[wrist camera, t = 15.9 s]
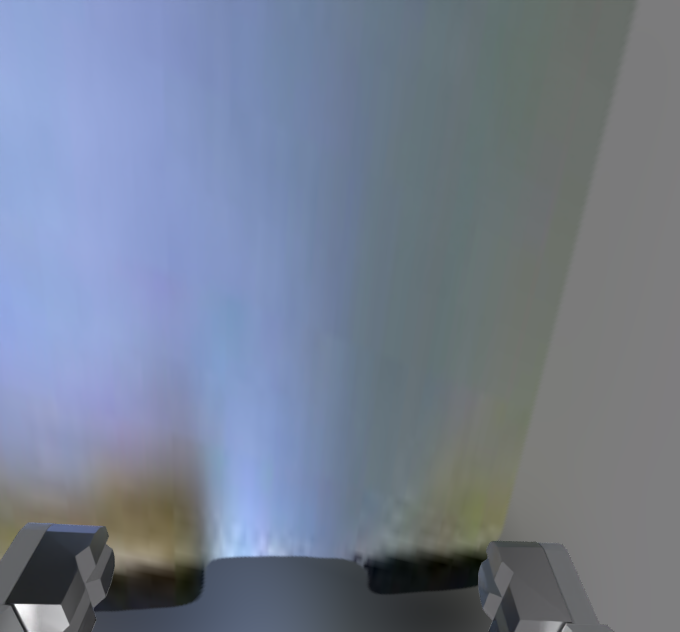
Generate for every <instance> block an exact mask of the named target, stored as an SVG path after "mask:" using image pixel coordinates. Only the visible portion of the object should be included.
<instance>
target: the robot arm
mask: <svg viewBox="0 0 680 632" xmlns="http://www.w3.org/2000/svg"><path fill="white" fill-rule="evenodd" d="M108 537H109V535H108V532H107V529H106V527H105V526H87V525H65V524H53V523H27V524H26V525H25V526H24V527H23V528H22V529H21V530H20V531H19V532H18V534H17V535H16V537H15V539H14V540H13V542H12V543H11V545H10V547H9V548H8V550H7V551H6V553H5V555H4V556H3V558H2V559H1V561H0V632H92V629H93V627H94V624H95V622H96V616H95V612H94V607H95V606H96V605H97V604H98V603H99V602H100V601H102V600H103V599H104V598H105V597H106V595H107V592H108V589H109V587H110V584H111V581H112V576H113V572H114V567H115V559H114V553H113V549H112V548H110V547H109V546H108V545H106V542H107V539H108ZM486 552H487V555H488V559H487V560H486V561H484V562H482V563H481V567H480V570H479V576H478V588H479V595H480V600H481V604H482V609H483V610H484V612H486V614H487V615H488V616H489V617H490V618H491V619H492V624H491V626H490V629H489V631H488V632H614V631H613V630H612V629H611V628H610V627H609V626H608V625H604V624H600V623H599V621H598V618H597V616H596V614H595V612H594V610H593V607H592V605H591V602H590V600H589V598H588V596H587V594H586V591H585V589H584V587H583V584H582V582H581V580H580V578H579V575H578V573H577V571H576V569H575V566H574V564H573V562H572V560H571V557H570V555H569V553H568V551H567V549H566V548H565V547H564V545H563V544H559V543H537V542H517V541H516V542H514V541H513V542H512V541H492V542H490V543H489V545H488V547H487V550H486Z"/></svg>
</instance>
